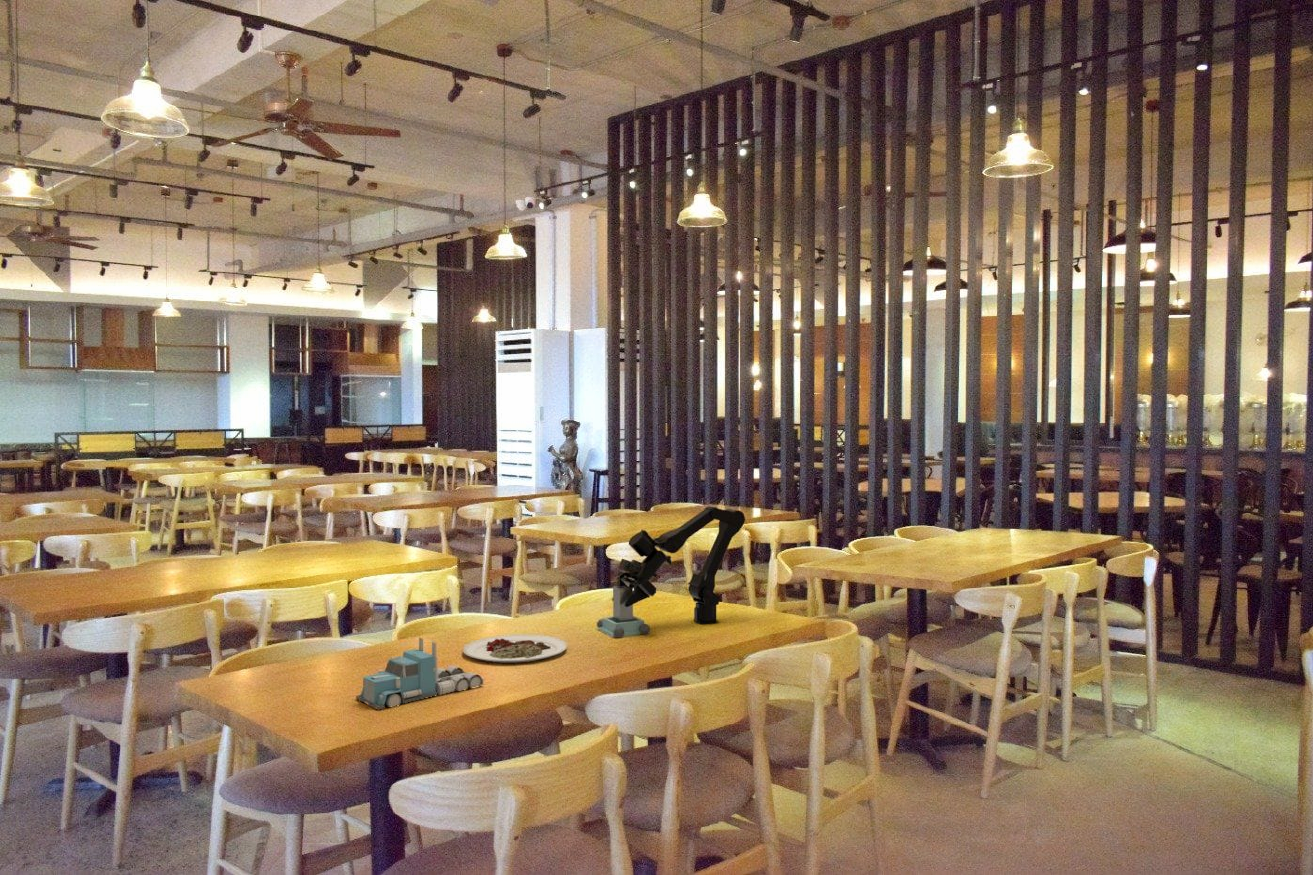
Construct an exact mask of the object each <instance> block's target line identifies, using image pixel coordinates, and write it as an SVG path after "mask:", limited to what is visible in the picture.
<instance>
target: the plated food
mask: <svg viewBox="0 0 1313 875" xmlns="http://www.w3.org/2000/svg"><path fill="white" fill-rule="evenodd" d="M567 648H568V643H567V642H566V641H564V640H563V639H561V638H558V637H553V636H550V635H543V634H505V635H504V634H503V635H496V636H489V637H485V638H481V639H477V640H473V641H471V642H469V643H467V644H466V645H464V646H463V647H462V651H463V654H465V656H467V657H470V658H473V659H475V660H476V659H477V660H483V661H486V662H491V661H492V663H503V664H504V663H505V664H508V663H513V664H514V663H525V662H534V661H539V660H542V659H546V658H550V657H553V656H556V655H560V654H561V653H563V652H564V651H566V650H567Z"/></svg>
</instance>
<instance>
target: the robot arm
mask: <svg viewBox="0 0 1313 875" xmlns="http://www.w3.org/2000/svg"><path fill="white" fill-rule="evenodd" d="M714 520H717V521H718V533H717V535H716V537H715V540H714V542H713V545H712V546H711V548H710V550H709V554H708V555H707V558H706V560H705V562H704V565H703V566H702V568H701V570H700V571H699V572H698V573H696V572H695V573H692V575H691V578H690V581H689V582H688V583H687V585H688V589H687V590H688V592H689V595H690V596H691V597H692V601H693V602H695V607H693V608H694V609H693V610H694V612H693V621H694V622H696V623H698V624H699V625H704V624H705V625H706V624H714V623H719V620H717V606H718V605H719V603H720V600H721V599H720V597H719V596H718V595H717V594H716V593H715V592H714V590H715V587H716V575H717V573H718V570H719V568H720V566H721V563H722V562H723V559H724V556H725V555H726V552H727V549H728V548H729V545H730V543H731V541H732V539H733V537H735V536H736V535H738V533H739V532H740V531H741V529H742V528H743V526H744V524H745V523H746V517H745V514H744V512H743V511H741V510H737V509H731V508H726V509H722V508H718V507H716V506H710V505H709V506H706V507H704V509H703V510H701V511H700V512H698V514H696V515H694V516H693V517H692V518H691V519H688V520H687V521H686V522H684V523H683V524H682V525H681V526H679V527H677V528H675V529H672V530H668V531H666V532H664V533H662V534H660V535H659V536H658V537H656V538H652V536H651V535H650V534H649V533H648V532H647V531H646V530H645V529H641V531H639V532H637V533H635V534H634V535H632V536H631V537H630V539H629V540H628V545H629V546H630V548H632V550H634V551H635V553H636V554H638V556H639V557H642V558H643V557H645V558H644V559H643V560H642V561H638V560H637V559H636V560H635V559H631V560H628V559H624V558H621V561H620V562H619V565H618V568H617V569H621V570H619V571H618V573H617V574H615V576H616V581H617V586H616V587H620V586H628V587H630V588H633V592H632V594H631V595H630V597H629V598H628V600H627V601H626V603H625V606H626V607H629V606H631V605H633V606H634V604H637V603H639V602H641V601H643V600H646V599H648V598H651V597H654V596H655V594H656V593H657V587H656V586H655V585H654V584H653V583H652V582H651V580H652V579H653V578H656V577H658V574H656V573H657V572H658V571H659V570H660V569H661V567H662V566H663V565H664V564H667V565H669V566H670V565H672V556H671V555H667V554H665V553H668V554H676V553H678V552H679V550H681V549H682V547H683V546H684V545H685V544H686V542H687V540H688V539H689V538H690V537H691V536H694V535H695V534H696V533H697V532H699V531H700V530H701V529H703V528H705V527H706V526H707V525H709V524H710V523H712V522H713V521H714ZM657 548H658V549H657ZM611 601H612V602H613V597H612V599H611Z"/></svg>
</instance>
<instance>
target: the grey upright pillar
mask: <svg viewBox="0 0 1313 875" xmlns="http://www.w3.org/2000/svg"><path fill="white" fill-rule="evenodd" d="M633 590H634V588H630V587H628V586H620V587H617V586H613V587H612V598H613V601H612V610H613V611H612V612H613V613H612V617H613V621H614V622H616V623H622V622H630V621H633V616H634V604H633V605H631V606H629V607H626V606H625V603H626V601H627V600H628V598H629V597H630V595H631V594H632V592H633Z"/></svg>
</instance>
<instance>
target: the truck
mask: <svg viewBox="0 0 1313 875" xmlns="http://www.w3.org/2000/svg"><path fill="white" fill-rule="evenodd" d="M415 633H416V630H415ZM437 655H438V654H437V643H436V642H435V641H434V642H432V641H431V653H427V652H425V651H424V638H422V637H418V649H416V648H414V649H410V650H406V651H403V653H402V656H400V655H398V656H397V657H390V659H389V658H388V660H387V663H386V667H385V669H384V670H383V669H380V670H378V672H377V673H374V674H370V675H366V676H364V677H363V680H362V690H361V691H360V692H361V693H360V694H359V695H355V700H356V699H358V700H360V701H362V702H364V703H366V704H368V705H369V706H368V705H367V706H368V707H370V706H371V707H370V708H372V707H373V709H374V708H375V709H374V710H376V709H377V711H381V710H380V709H382V710H385V709H386V707H387V706H388V708H389V707H391V706H392V708H394V707H393V706H396V705H399V706H400V705H401V704H402V703H405V704H409V703H408V702H410V703H412V702H411V701H414V702H416V701H415V700H418V701H420V700H419V699H422V698H426V697H431V696H435V695H437V694H438V695H437V696H443V695H447V694H446V693H448V694H451V693H450V692H452V693H454V692H457V691H461V690H464V689H467V690H468V689H470V688H472V687H476V686H480V687H481V685H482V686H483V685H484V678H482V677H481V675H479V674H477V673H474V672H471V671H469V672H466V671H464V670H463V669H462V668H461V667H458V666H455V665H453V664H452V665H449V666H447V667H446V668H445V669H444V668H442V667H438V656H437ZM468 687H469V688H468ZM455 690H456V691H455ZM461 692H462V691H461ZM442 694H443V695H442ZM431 698H432V697H431ZM358 700H357V701H358ZM360 701H359V702H360ZM362 702H361V703H362ZM364 703H363V704H364ZM366 704H365V705H366ZM396 707H397V706H396Z"/></svg>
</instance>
